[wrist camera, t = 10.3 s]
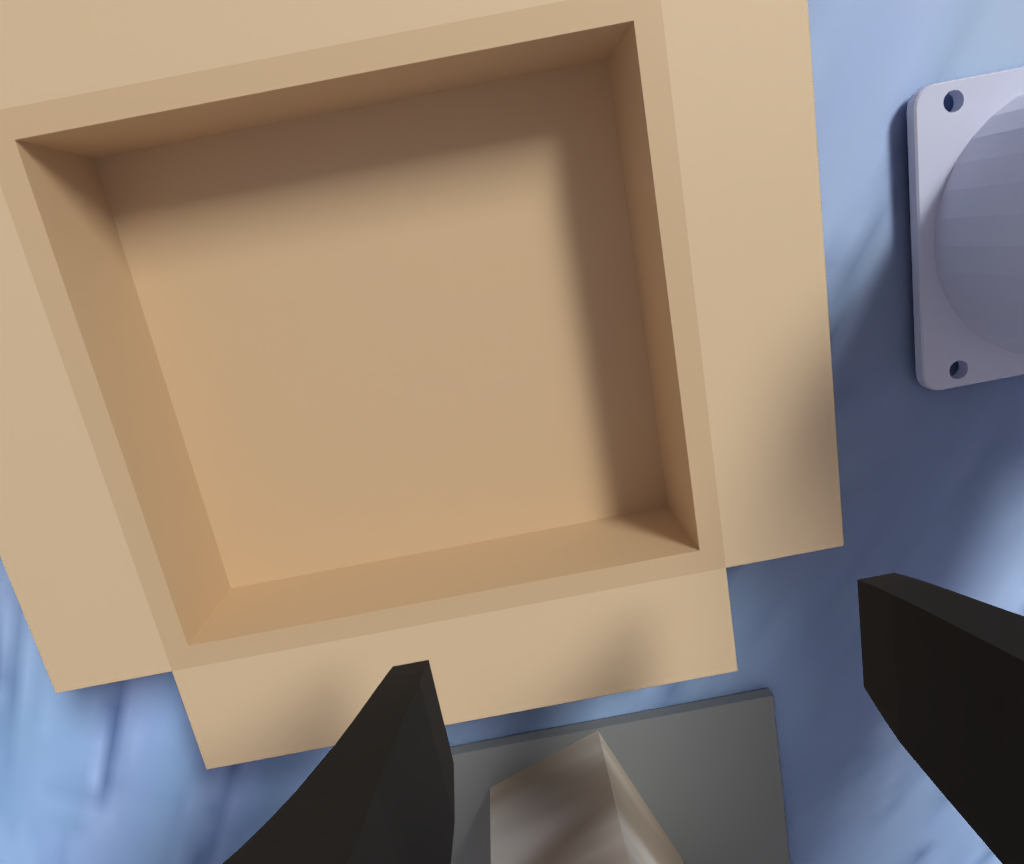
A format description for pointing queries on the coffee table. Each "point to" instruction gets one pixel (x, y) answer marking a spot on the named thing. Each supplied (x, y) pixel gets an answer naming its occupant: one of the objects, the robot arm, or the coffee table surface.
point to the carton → (405, 346)
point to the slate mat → (657, 777)
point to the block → (575, 813)
